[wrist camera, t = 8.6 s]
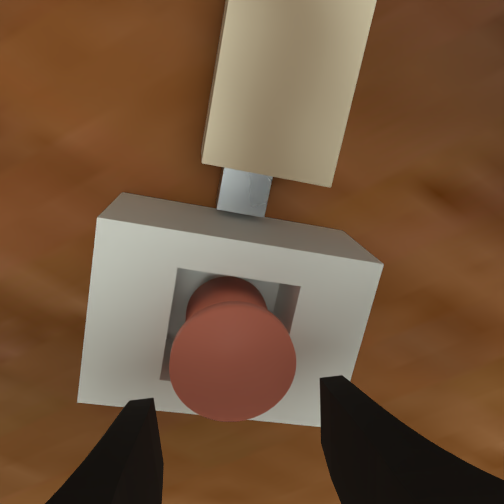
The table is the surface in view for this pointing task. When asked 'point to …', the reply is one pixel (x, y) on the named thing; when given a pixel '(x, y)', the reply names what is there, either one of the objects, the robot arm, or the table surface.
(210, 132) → the block
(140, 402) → the robot arm
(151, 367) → the white button housing
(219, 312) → the knob
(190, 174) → the table surface
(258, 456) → the table surface
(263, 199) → the rail
